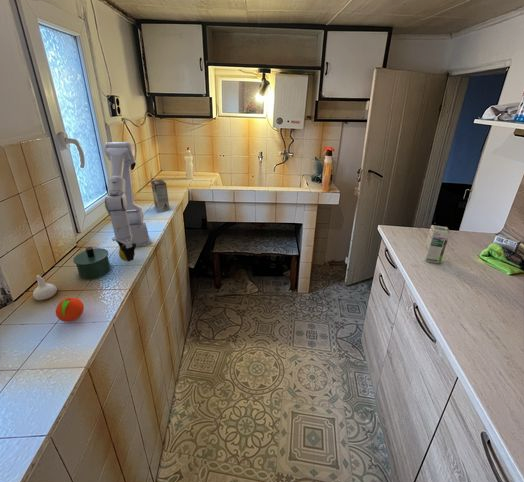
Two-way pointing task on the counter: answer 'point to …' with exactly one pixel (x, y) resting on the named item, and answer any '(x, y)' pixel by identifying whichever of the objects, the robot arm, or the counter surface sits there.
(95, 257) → the pot lid
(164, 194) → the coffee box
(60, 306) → the red tomato
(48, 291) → the garlic bulb
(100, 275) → the pot
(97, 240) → the counter surface
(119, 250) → the lemon
